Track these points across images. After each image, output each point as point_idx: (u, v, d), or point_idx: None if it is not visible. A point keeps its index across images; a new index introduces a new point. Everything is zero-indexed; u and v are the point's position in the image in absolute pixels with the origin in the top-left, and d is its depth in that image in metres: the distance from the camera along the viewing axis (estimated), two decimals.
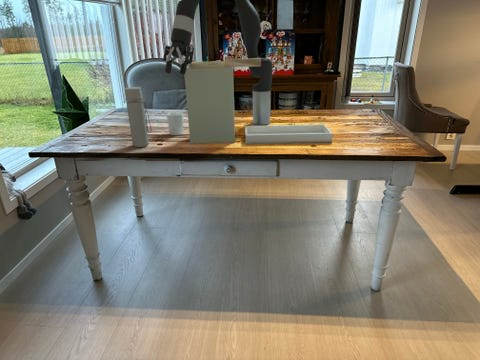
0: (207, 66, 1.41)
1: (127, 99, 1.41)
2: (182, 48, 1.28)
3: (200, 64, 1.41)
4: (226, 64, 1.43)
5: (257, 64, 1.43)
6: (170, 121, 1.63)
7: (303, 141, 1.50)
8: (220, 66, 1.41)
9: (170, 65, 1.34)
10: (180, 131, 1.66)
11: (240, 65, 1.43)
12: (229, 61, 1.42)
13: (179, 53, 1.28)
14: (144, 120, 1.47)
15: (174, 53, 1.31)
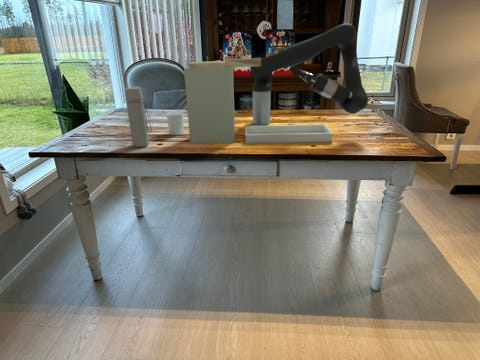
0: (207, 66, 1.41)
1: (127, 99, 1.41)
2: None
3: (200, 64, 1.41)
4: (226, 64, 1.43)
5: (257, 64, 1.43)
6: (170, 121, 1.63)
7: (303, 141, 1.50)
8: (220, 66, 1.41)
9: None
10: (180, 131, 1.66)
11: (240, 65, 1.43)
12: (229, 61, 1.42)
13: None
14: (144, 120, 1.47)
15: None
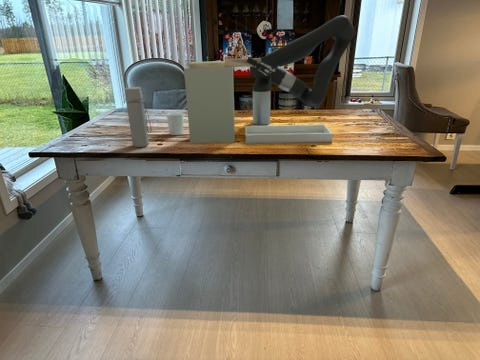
0: (207, 66, 1.41)
1: (127, 99, 1.41)
2: None
3: (200, 64, 1.41)
4: (226, 64, 1.43)
5: None
6: (170, 121, 1.63)
7: (303, 141, 1.50)
8: (220, 66, 1.41)
9: None
10: (180, 131, 1.66)
11: (240, 65, 1.43)
12: (229, 61, 1.42)
13: None
14: (144, 120, 1.47)
15: None
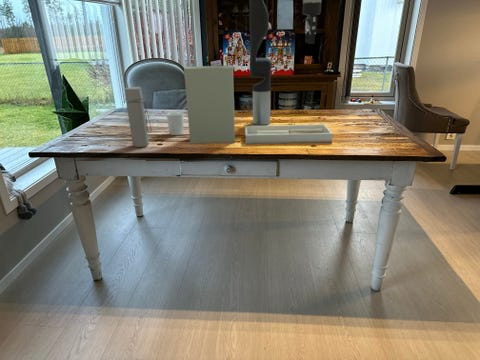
0: None
1: (127, 99, 1.41)
2: None
3: None
4: None
5: None
6: (170, 121, 1.63)
7: (303, 141, 1.50)
8: None
9: None
10: (180, 131, 1.66)
11: None
12: (293, 132, 1.54)
13: None
14: (144, 120, 1.46)
15: None
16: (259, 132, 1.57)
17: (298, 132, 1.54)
